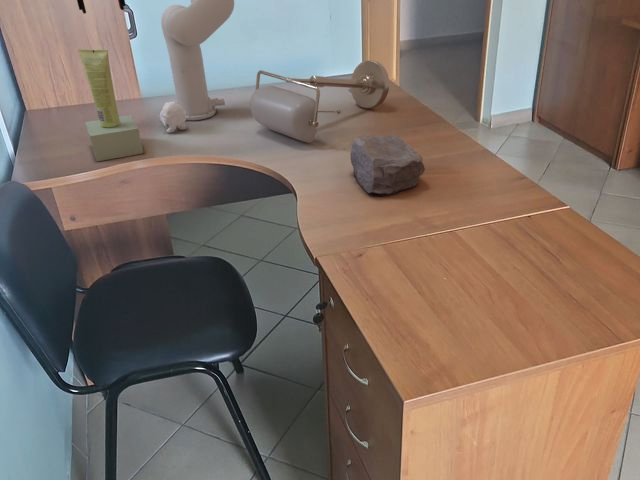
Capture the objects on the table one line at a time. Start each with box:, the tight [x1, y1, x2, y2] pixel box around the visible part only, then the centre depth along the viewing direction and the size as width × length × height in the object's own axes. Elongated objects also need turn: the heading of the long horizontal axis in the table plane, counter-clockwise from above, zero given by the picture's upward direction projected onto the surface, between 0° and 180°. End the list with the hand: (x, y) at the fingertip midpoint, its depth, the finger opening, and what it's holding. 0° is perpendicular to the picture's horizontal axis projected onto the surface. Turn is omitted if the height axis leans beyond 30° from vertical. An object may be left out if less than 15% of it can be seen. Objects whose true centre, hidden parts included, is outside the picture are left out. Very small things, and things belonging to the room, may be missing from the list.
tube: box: [77, 48, 120, 128], centre depth 152 cm, size 6×5×20 cm
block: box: [85, 114, 144, 162], centre depth 160 cm, size 12×12×7 cm
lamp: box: [249, 59, 390, 144], centre depth 174 cm, size 27×23×40 cm
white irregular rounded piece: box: [159, 100, 187, 134], centre depth 173 cm, size 6×8×12 cm
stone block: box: [349, 134, 426, 197], centre depth 141 cm, size 17×12×15 cm
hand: (103, 11), depth 159 cm, fingers open, 9 cm apart
